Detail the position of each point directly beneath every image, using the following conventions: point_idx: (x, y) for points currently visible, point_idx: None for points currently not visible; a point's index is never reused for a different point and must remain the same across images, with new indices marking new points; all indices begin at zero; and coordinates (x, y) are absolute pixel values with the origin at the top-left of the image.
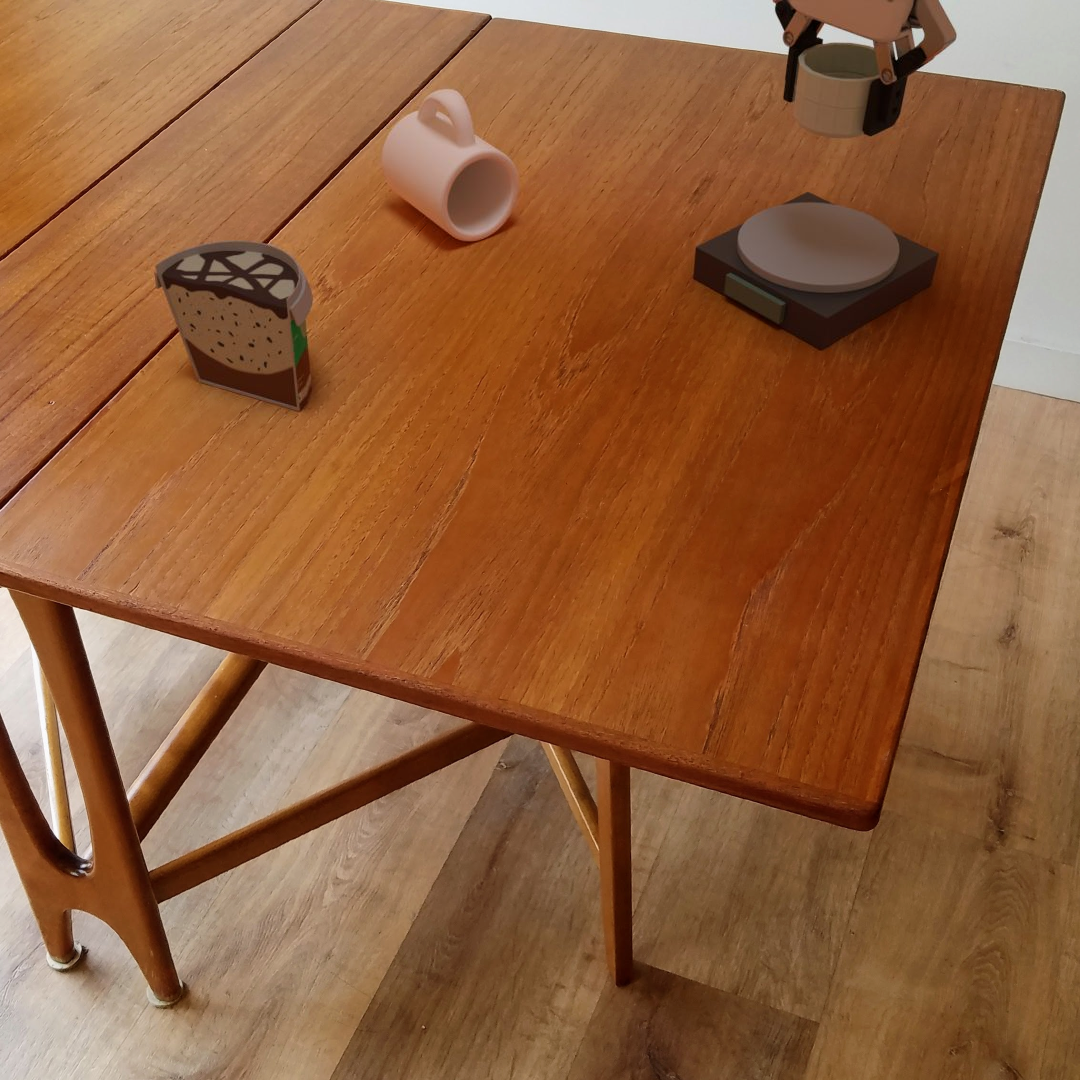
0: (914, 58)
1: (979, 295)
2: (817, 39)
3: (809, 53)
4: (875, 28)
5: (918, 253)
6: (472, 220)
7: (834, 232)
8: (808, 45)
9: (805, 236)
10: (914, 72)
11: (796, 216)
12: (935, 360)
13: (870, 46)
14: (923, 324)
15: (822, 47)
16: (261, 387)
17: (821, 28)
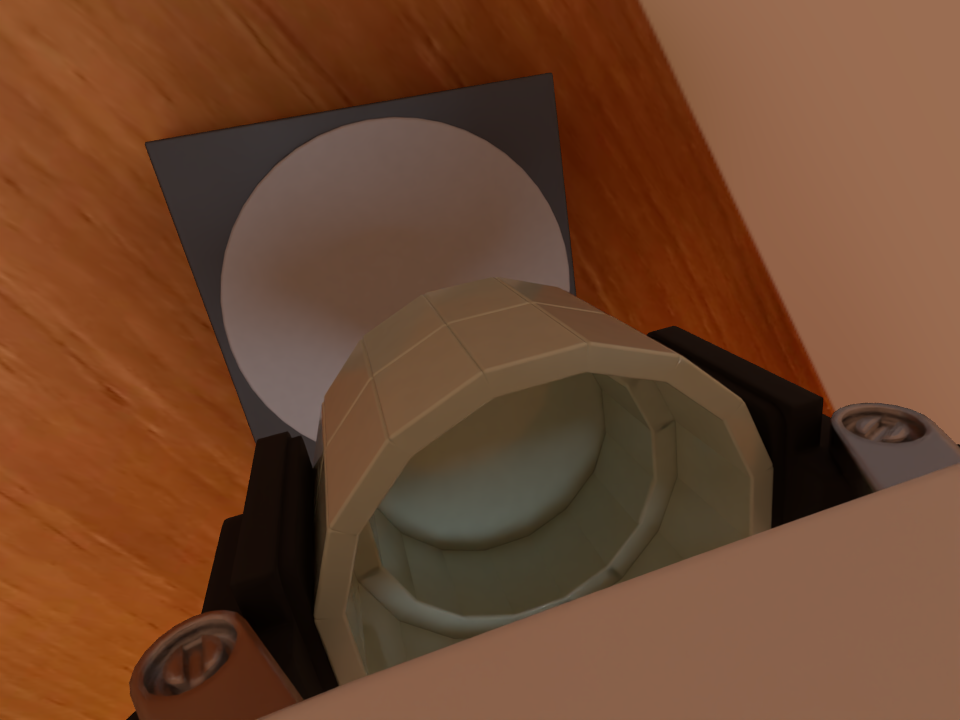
0: None
1: (599, 21)
2: (259, 601)
3: (367, 666)
4: None
5: (529, 116)
6: None
7: (397, 251)
8: (311, 669)
9: (378, 317)
10: (884, 407)
11: (291, 284)
12: (675, 247)
13: (499, 371)
14: (602, 193)
15: (347, 595)
16: None
17: (263, 644)
